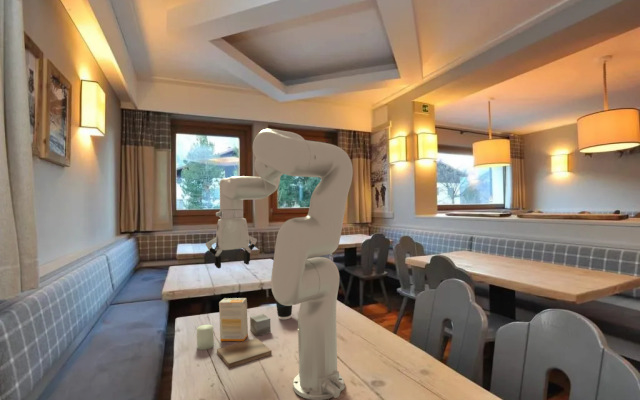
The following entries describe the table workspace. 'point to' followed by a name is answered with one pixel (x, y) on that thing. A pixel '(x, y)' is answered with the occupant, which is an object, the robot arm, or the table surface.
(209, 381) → the table surface
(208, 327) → the sage capsule
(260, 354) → the tan board
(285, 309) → the dixie cup
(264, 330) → the gray block
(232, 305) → the supplement box
